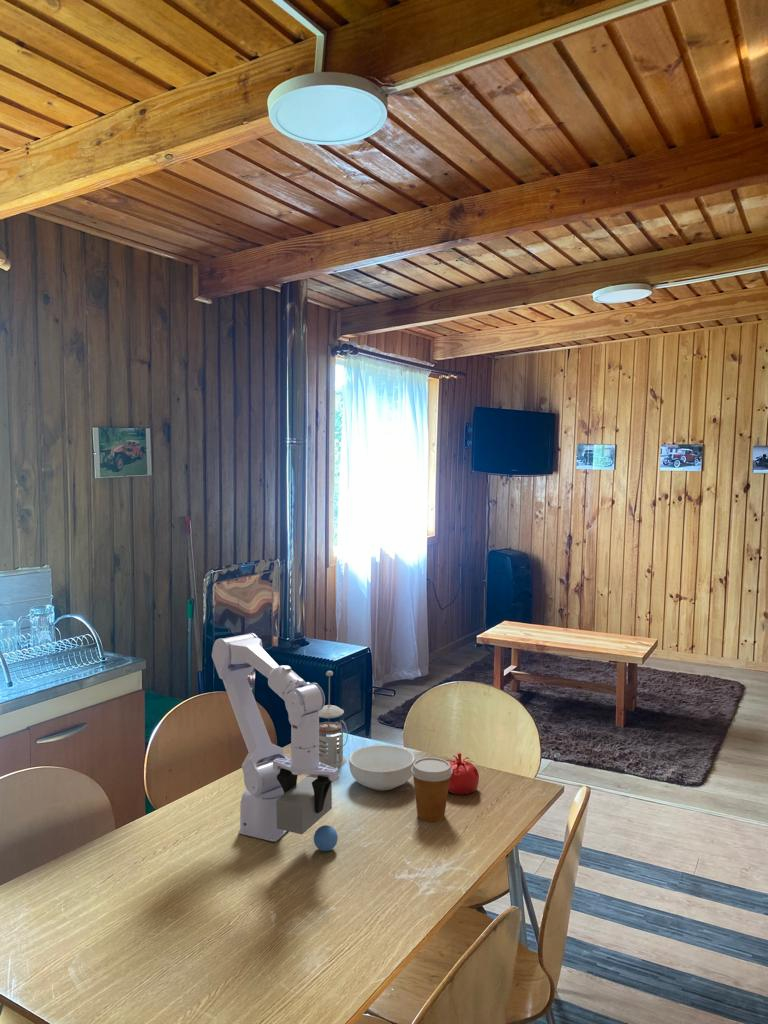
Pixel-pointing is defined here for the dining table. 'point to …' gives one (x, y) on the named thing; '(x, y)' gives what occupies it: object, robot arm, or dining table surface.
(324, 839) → the ball
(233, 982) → the dining table surface
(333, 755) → the french press
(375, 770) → the cereal bowl
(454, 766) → the pomegranate
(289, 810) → the grey rectangular block
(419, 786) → the disposable coffee cup
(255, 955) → the dining table surface
